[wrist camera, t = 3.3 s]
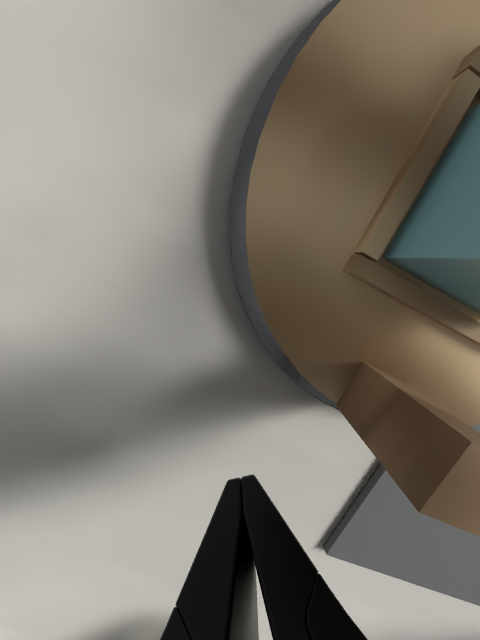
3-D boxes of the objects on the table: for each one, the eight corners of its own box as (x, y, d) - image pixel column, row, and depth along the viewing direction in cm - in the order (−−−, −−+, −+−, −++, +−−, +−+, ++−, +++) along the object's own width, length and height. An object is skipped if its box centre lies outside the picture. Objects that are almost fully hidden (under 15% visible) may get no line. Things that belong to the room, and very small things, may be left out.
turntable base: (471, 464, 14) (482, 473, 13) (158, 324, 11) (155, 328, 10) (726, 133, 11) (754, 126, 10) (387, -178, 8) (400, -212, 7)
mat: (489, 602, 16) (495, 611, 16) (323, 546, 14) (326, 554, 14) (628, 445, 14) (640, 450, 14) (456, 354, 12) (464, 357, 12)
